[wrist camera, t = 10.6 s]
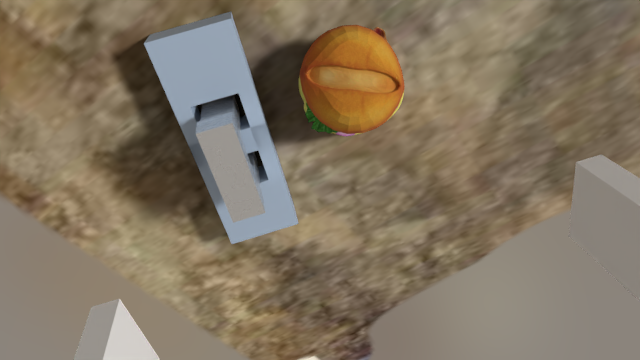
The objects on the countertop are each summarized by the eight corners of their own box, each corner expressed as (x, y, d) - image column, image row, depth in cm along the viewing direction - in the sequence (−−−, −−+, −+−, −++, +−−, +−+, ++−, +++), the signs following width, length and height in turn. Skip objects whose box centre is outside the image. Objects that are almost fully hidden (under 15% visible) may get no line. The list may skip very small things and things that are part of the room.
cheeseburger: (323, 147, 48) (331, 173, 39) (276, 56, 45) (273, 60, 36) (408, 104, 48) (438, 120, 38) (366, 9, 44) (387, -1, 35)
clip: (201, 95, 43) (195, 133, 35) (230, 86, 43) (232, 122, 35) (231, 172, 48) (233, 222, 40) (258, 164, 48) (265, 212, 40)
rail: (149, 34, 40) (143, 43, 37) (231, 11, 40) (231, 18, 37) (231, 225, 51) (231, 244, 48) (294, 206, 51) (298, 223, 48)
